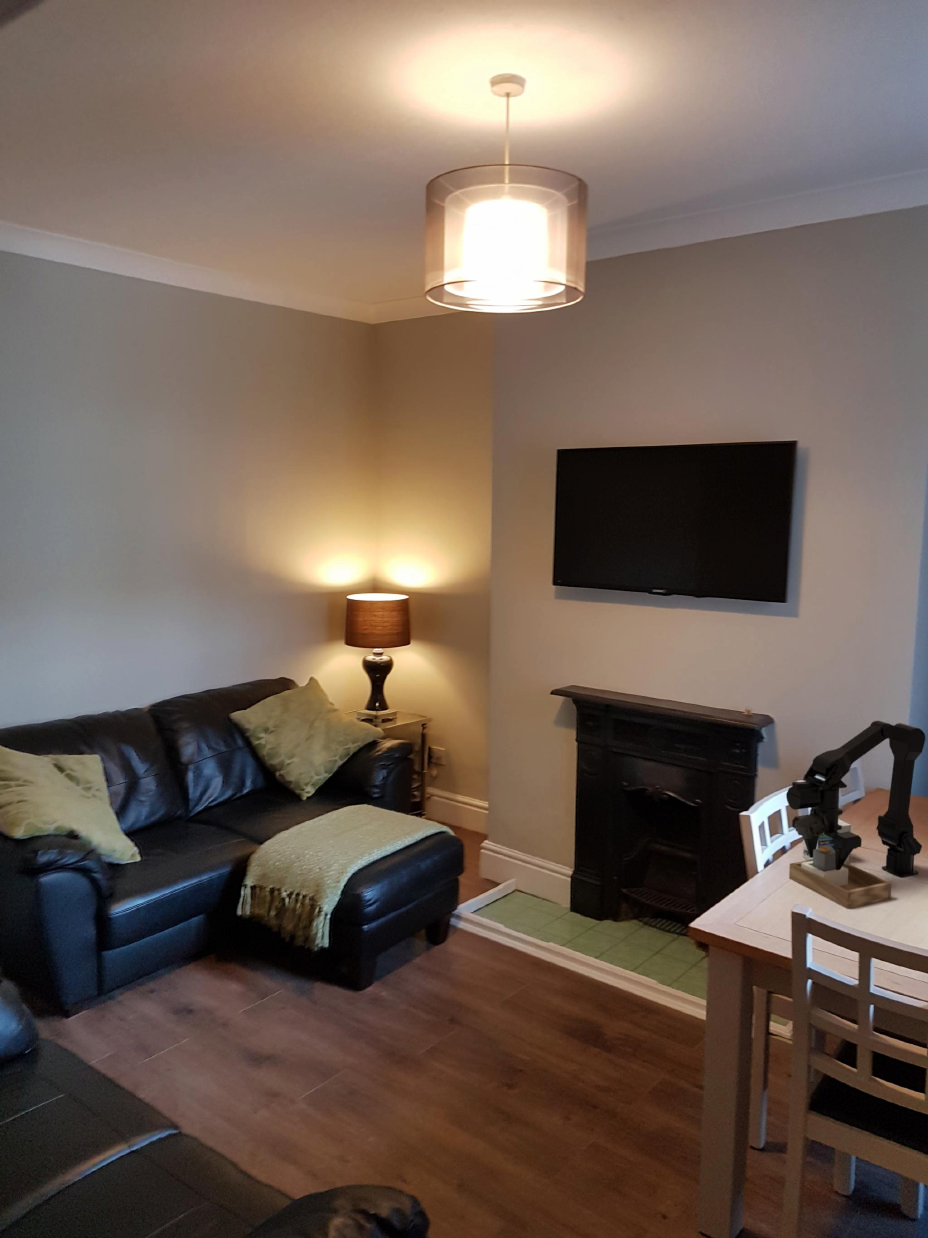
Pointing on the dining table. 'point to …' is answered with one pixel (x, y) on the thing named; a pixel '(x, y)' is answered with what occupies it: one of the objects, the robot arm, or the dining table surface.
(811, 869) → the inlet socket
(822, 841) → the light bulb box
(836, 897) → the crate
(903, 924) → the dining table surface
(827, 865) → the block
